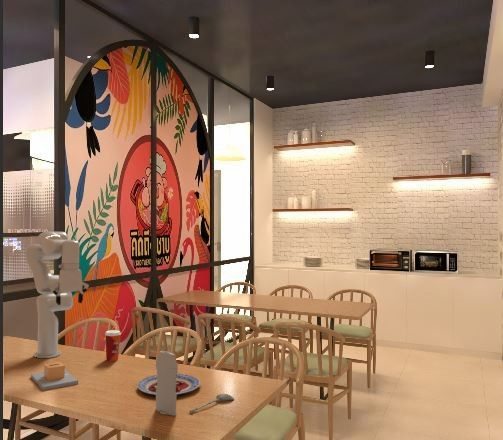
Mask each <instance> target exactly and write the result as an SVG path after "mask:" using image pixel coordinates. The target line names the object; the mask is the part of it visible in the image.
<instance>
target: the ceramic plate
mask: <svg viewBox="0 0 503 440" xmlns="http://www.w3.org/2000/svg"><path fill="white" fill-rule="evenodd" d="M136 386H137V387H136V388H138V390H140V391H141V392H143V393H145V394H148V395H149V394H150V395H153V396H154V395H155V396H156V389H157V374H154V375H150V376H147V377H145V378H143V379H141V380H140V381H138V383H137V385H136ZM199 386H201V381H200V379H199V378H197V376H196V377H195V376H193V375H190V374H187V373H185V374H184V373H177V375H176V395H182V394H188V393H189V392H192V391H194V390H196V389H197V388H199Z"/></svg>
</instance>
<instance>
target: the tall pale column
mask: <svg viewBox="0 0 503 440" xmlns="http://www.w3.org/2000/svg"><path fill="white" fill-rule="evenodd" d="M176 359H177V358H176V354H175V353H172V352H170V351H165V350H161V351H159V352H158V356H157V358H156V360H155V369H156V375H157V389H156V395H155V411H156V412H158V413H159V414H161V415H167V416H170V417H176V416H177V394H176V375H177V374H179V373H178V370H179V364H178V362H177V360H176Z"/></svg>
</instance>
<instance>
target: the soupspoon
mask: <svg viewBox="0 0 503 440" xmlns="http://www.w3.org/2000/svg"><path fill="white" fill-rule="evenodd" d="M215 398H216V399H213V400H211V401H209V402H207V403H204V404H203V405H201V406H198V407H196V408H193V409H190V410H189V414H191V415H193V414H194V413H195V412H196V411H198V410H200V409H201V408H204V407H206V406H208V405H211V404H212V403H215V402H218V401H219V402H221V401H231V400H232V401H233V400H235V398H234V397H233V396H232V395H230V394H228V393H219V394H217V395H216V397H215Z"/></svg>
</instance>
